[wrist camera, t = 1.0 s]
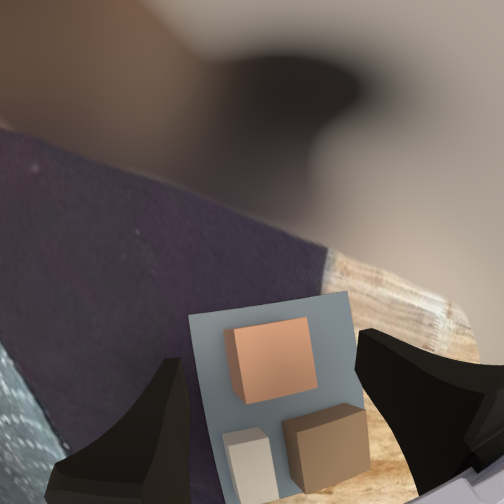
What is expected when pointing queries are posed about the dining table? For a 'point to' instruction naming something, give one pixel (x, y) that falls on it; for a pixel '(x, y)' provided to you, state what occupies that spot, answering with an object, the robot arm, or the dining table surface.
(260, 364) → the terracotta block
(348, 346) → the board
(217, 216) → the dining table surface
